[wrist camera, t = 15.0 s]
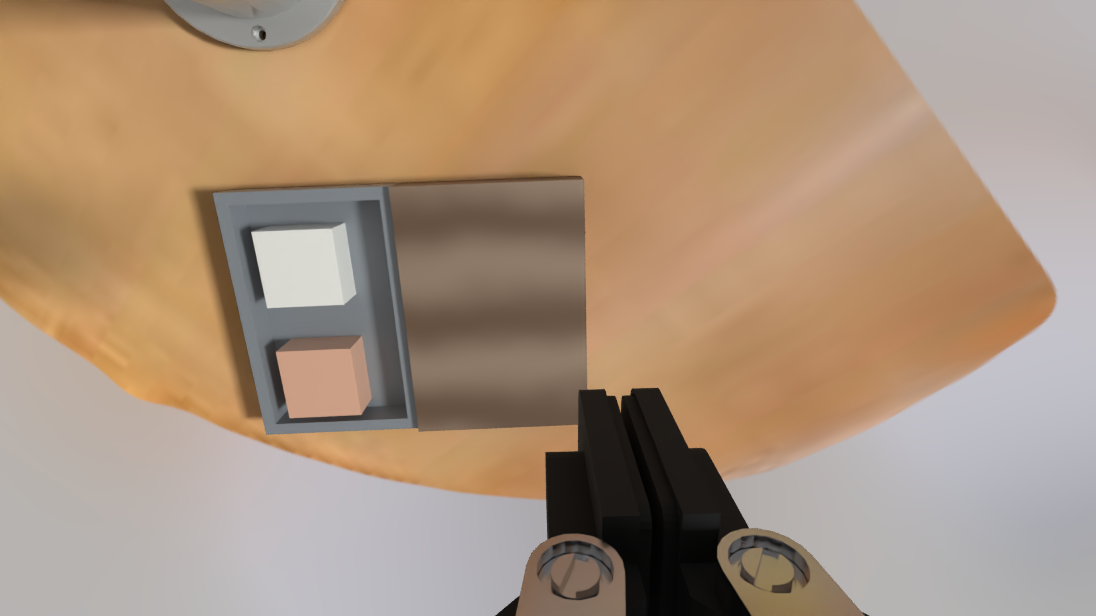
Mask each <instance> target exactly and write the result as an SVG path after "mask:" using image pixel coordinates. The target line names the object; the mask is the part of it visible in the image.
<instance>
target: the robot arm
mask: <svg viewBox="0 0 1096 616" xmlns="http://www.w3.org/2000/svg"><path fill="white" fill-rule="evenodd" d="M164 1H165V2H166V4H167V5H168V6H169V7H170V8H171V9H172V10H173V11H174V12H175V13H176V14H177V15H178V16H179V17H181V18H182V19H183V20H185V21H186V22H187V23H189V24H190V25H191V26H193V27H194V28H195V29H197V30H199V31H200V32H202V33H204V34H206V35H208V36H210V37H212V38H214V39H216V40H218V41H221V42H224V43H227V44H230V45H233V46H237V47H242V48H246V49H251V50H278V49H283V48H288V47H293V46H295V45H297V44H300V43H302V42H304V41H306V40H309V39H310V38H312V37H313V36H314V35H316V34H317V33H318V32H320V31H321V30H322V29H324V28H325V27H326V26H327V25H328V24H329V23H330V21H331V20H332V19H333V18H334V17H335V16H336V14H337V13H338V12H339V10H340V8H341V7H342V5H343V3H344V1H345V0H164ZM263 32H266V38H265V40H263V38H262V34H263ZM546 504H547V505H546V506H547V538H548V540H546V541H545V542H543V543H541V544H540V545H539V546H538V547H537V548H536V549H535V550H534V551H533V552H532V553H531V555H530V557H529V560H528V562H527V565H526V569H525V574H524V579H523V583H522V588H521V593H520V596H519V597H517V598H516V599H515V600H514V601H512V602H511V603H510V604H509V605H508V606H506V607H505V608H504V609H503V610H502V611H500V612H499V613H498V614H497V615H496V616H869V615H867V614H865V613H863V612H861V611H860V610H859V608H858V607H857V606H856V605H855V604H854V603H853V602H852V600H851V599H850V598H849V597H848V596H847V595H846V594H845V592H844V591H843V590H842V589H841V588H840V587H839V585H838V584H837V583H836V582H835V581H834V580H833V579H832V577H831V576H830V575H829V574H828V573H827V572H826V571H825V569H824V568H823V567H822V566H821V565H820V564H819V562H818V561H817V560H816V559H815V558H814V557H813V556H812V555H811V554H810V553H809V552H808V551H807V550H806V549H805V548H804V547H803V546H801V545H800V544H798V543H797V542H795V541H793V540H792V539H790V538H788V537H786V536H784V535H781V534H778V533H776V532H773V531H769V530H763V529H758V528H751V529H750V528H749V527H748V525H747V524H746V522H745V520H744V518H743V517H742V514H741V513H740V511H739V509H738V507H737V505H736V503H735V502H734V500H733V498H732V496H731V494H730V493H729V491H728V489H727V487H726V485H725V483H724V482H723V480H722V478H721V476H720V474H719V473H718V471H717V469H716V467H715V465H714V463H713V462H712V460H711V458H710V456H709V454H708V453H707V451H706V450H705V449H703V448H688V446H687V444H686V442H685V440H684V438H683V436H682V434H681V432H680V430H679V428H678V426H677V424H676V422H675V420H674V418H673V416H672V414H671V412H670V410H669V408H668V406H667V404H666V402H665V400H664V398H663V396H662V394H661V392H660V390H659V388H639V389H632V390H631V394H630V395H629V396H622V400H621V413H620V409H619V406H618V403H617V400H616V397H615V396H607V395H606V391H605V389H598V390H579V394H578V451H574V452H546Z"/></svg>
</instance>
